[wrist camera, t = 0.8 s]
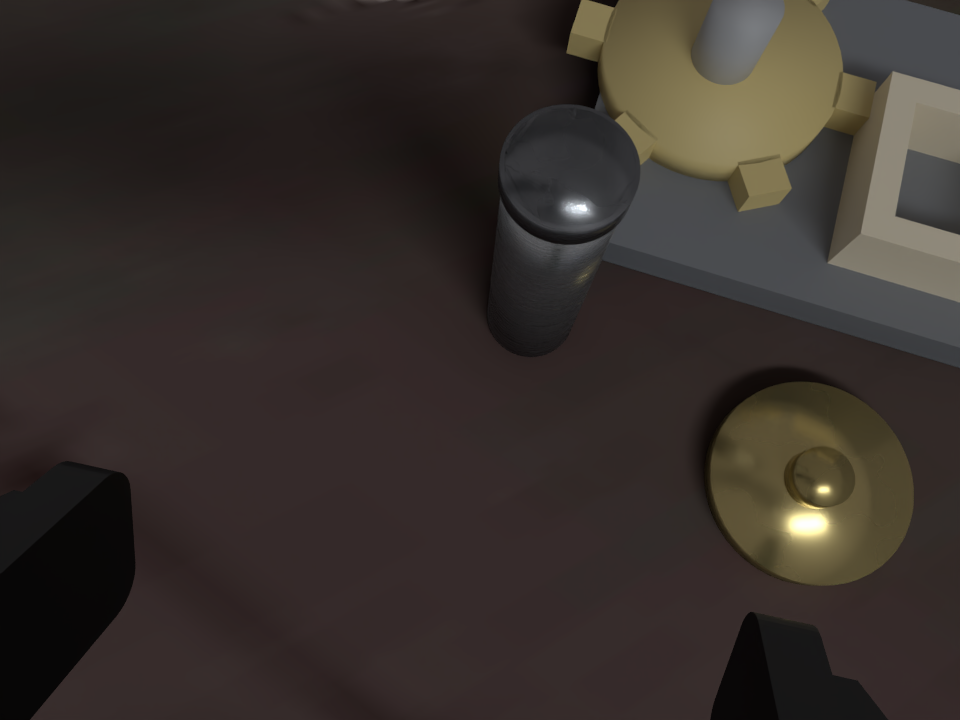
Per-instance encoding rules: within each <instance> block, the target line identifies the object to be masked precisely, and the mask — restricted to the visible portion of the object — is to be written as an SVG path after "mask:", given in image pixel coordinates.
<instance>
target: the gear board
mask: <svg viewBox="0 0 960 720" xmlns="http://www.w3.org/2000/svg"><path fill="white" fill-rule="evenodd" d="M567 53H568V54H571V55H575V56H578V57H582V58H585V59H589V60H592V61H596V62H598V70H597V71H598V84H599V89H600V94H599V97H598V100H597V103H596V106H595V110H598V111H600V112H602V113H604V114H606V115H607V116H609V117H610V118H612V119H613V120H615V121H616V122H617V123H618V124H620V125H621V127H622V128H623V129H624V130H625V131H626V132H627V133H628V135H629V136H630V137H631V139H632V141H633V143H634V145H635V147H636V149H637V152H638V155H639V160H640V168H641V172H640V181H639V186H638V189H637V191H636V194H635V196H634V198H633V201H632V203H631V205H630V207H629V209H628V211H627V213H626V215H625V217H624V218H623V219H622V221H621V222H620V223H619V224H618V225H617V227H616V229H615V231H614V233H613V236H612V238H611V240H610V242H609V245H608V247H607V249H606V251H605V254H604V256H603V258H602V260H604V261H607V262H610V263H614V264H617V265H620V266H624V267H627V268H630V269H634V270H637V271H640V272H644V273H647V274H650V275H654V276H657V277H660V278H663V279H667V280H670V281H673V282H677V283H680V284H683V285H687V286H690V287H693V288H697V289H700V290H703V291H707V292H710V293H713V294H717V295H720V296H723V297H726V298H730V299H733V300H736V301H740V302H743V303H746V304H750V305H753V306H756V307H760V308H763V309H766V310H770V311H773V312H776V313H780V314H783V315H786V316H789V317H793V318H796V319H799V320H803V321H806V322H809V323H813V324H816V325H819V326H823V327H826V328H829V329H833V330H836V331H839V332H842V333H846V334H849V335H852V336H856V337H859V338H862V339H866V340H869V341H872V342H876V343H879V344H882V345H886V346H889V347H892V348H896V349H899V350H902V351H905V352H909V353H912V354H915V355H919V356H922V357H925V358H929V359H932V360H935V361H939V362H942V363H945V364H949V365H952V366H955V367H959V368H960V15H957V14H953V13H949V12H946V11H942V10H939V9H935V8H931V7H928V6H924V5H921V4H917V3H913V2H910V1H906V0H619V1H618V3H617V5H616V6H615V8H614V7H610V6H606V5H603V4H599V3H596V2H592V1H589V0H581V3H580V6H579V9H578V12H577V15H576V18H575V21H574V24H573V27H572V30H571V33H570V38H569V43H568V48H567Z"/></svg>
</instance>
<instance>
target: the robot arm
mask: <svg viewBox="0 0 960 720" xmlns="http://www.w3.org/2000/svg"><path fill="white" fill-rule="evenodd" d="M134 575H135V551H134V535H133V520H132V505H131V490H130V484H129V480H128V478H127V477H126V476H125V475H124V474H123V473H121V472H116V471H111V470H107V469H102V468H98V467H93V466H89V465H84V464H79V463H75V462H69V461H65V462H61V463H59V464H57V465H56V466H54V467H53V468H52V469H51V470H49V471H48V472H47V473H46V474H44V475H43V476H42V477H41V478H39V479H38V480H37V481H36V482H34V483H33V484H32V485H31V486H30V487H28V488H27V489H26V490H25V491H23V492H19V491H15V490H13V491H11V492H9V493H7V494H4V495H2V496H0V720H30V719H31V718H32V717H33V715H34V714H35V713H36V712H37V711H38V709H39V708H40V707H41V706H42V705H43V703H44V702H45V701H46V700H47V699H48V697H49V696H50V695H51V694H52V693H53V691H54V690H55V689H56V688H57V687H58V685H59V684H60V683H61V682H62V681H63V679H64V678H65V677H66V676H67V675H68V673H69V672H70V671H71V670H72V669H73V667H74V666H75V665H76V664H77V663H78V661H79V660H80V659H81V658H82V657H83V656H84V654H85V653H86V652H87V651H88V650H89V648H90V647H91V646H92V645H93V644H94V642H95V641H96V640H97V639H98V638H99V636H100V635H101V634H102V633H103V632H104V630H105V629H106V628H107V627H108V626H109V624H110V623H111V622H112V621H113V620H114V618H115V617H116V616H117V615H118V613H119V612H120V611H121V609H122V607H123V606H124V604H125V602H126V600H127V598H128V596H129V593H130V590H131V588H132V584H133V580H134ZM710 720H888V719H887V718H886V717H885V715H884V714H883V713H882V711H881V710H880V709H879V708H878V706H877V705H876V704H875V702H874V701H873V700H872V699H871V697H870V696H869V695H868V693H867V692H866V691H865V690H864V688H863V687H862V686H861V685H860V683H859V682H858V681H857V680H852V679H848V678H843V677H839V676H834V675H832V672H831V669H830V665H829V662H828V659H827V655H826V652H825V649H824V645H823V642H822V639H821V636H820V633H819V631H818V629H817V628H816V627H815V626H813V625H810V624H805V623H800V622H796V621H791V620H787V619H782V618H778V617H773V616H768V615H764V614H759V613H755V612H750V613H748V614H747V616H746V617H745V619H744V621H743V623H742V625H741V628H740V631H739V634H738V636H737V639H736V642H735V645H734V648H733V650H732V653H731V656H730V659H729V662H728V664H727V667H726V670H725V673H724V676H723V678H722V681H721V684H720V687H719V690H718V692H717V695H716V698H715V701H714V705H713V709H712V713H711V719H710Z"/></svg>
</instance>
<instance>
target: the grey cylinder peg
mask: <svg viewBox="0 0 960 720" xmlns="http://www.w3.org/2000/svg"><path fill="white" fill-rule="evenodd" d="M640 172H641V168H640V160H639V155H638V152H637V149H636V147H635V145H634V143H633V141H632V139H631V137H630V136H629V135H628V133H627V132H626V131H625V130H624V129H623V128H622V127H621V125H620V124H618V123H617V122H616V121H615V120H613V119H612V118H610V117H609V116H607V115H606V114H604V113H602V112H600V111H598V110H595V109H592V108H589V107H585V106H581V105H572V104H561V105H553V106H549V107H545V108H542V109H539V110H537V111H535V112H533V113H531V114H529V115H528V116H526V117H525V118H523V119H522V120H521V121H520V122H519V123H517V124H516V125H515V127H514V128H513V129H512V130H511V131H510V133H509V135H508V136H507V138H506V140H505V142H504V144H503V147H502V151H501V155H500V164H499V174H498V188H499V194H500V202H499V211H498V220H497V229H496V238H495V247H494V256H493V265H492V274H491V283H490V292H489V301H488V310H487V321H488V325H489V329H490V331H491V333H492V335H493V337H494V338H495V340H496V341H497V342H498V343H499V344H500V345H501V346H502V347H503V348H505V349H506V350H508V351H510V352H512V353H514V354H517V355H520V356H525V357H537V356H542V355H546V354H548V353H550V352H552V351H554V350H556V349H557V348H558V347H559V346H560V345H561V344H562V343H563V342H564V341H565V340H566V338H567V337H568V335H569V333H570V331H571V328H572V326H573V324H574V322H575V319H576V317H577V315H578V313H579V310H580V308H581V306H582V303H583V301H584V299H585V297H586V294H587V292H588V290H589V288H590V285H591V283H592V281H593V279H594V276H595V274H596V272H597V270H598V267H599V265H600V263H601V261H602V258H603V256H604V254H605V251H606V249H607V247H608V245H609V242H610V240H611V238H612V236H613V233H614V231H615V229H616V227H617V225H618V224H619V223H620V222H621V221H622V219H623V218H624V217H625V215H626V213H627V211H628V209H629V207H630V205H631V203H632V201H633V198H634V196H635V194H636V191H637V189H638V186H639V181H640Z"/></svg>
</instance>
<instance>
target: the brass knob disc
mask: <svg viewBox="0 0 960 720" xmlns="http://www.w3.org/2000/svg"><path fill="white" fill-rule="evenodd" d="M704 481H705V491H706V496H707V500H708V505H709V507H710V510H711V513H712V516H713V518H714V520H715V522H716V524H717V526H718V528H719V530H720V531H721V533H722V534H723V536H724V537H725V539H726V540H727V541H728V543H729V544H730V545H731V546H732V547H733V548H734V550H735V551H736V552H737V553H738V554H739V555H740V556H742V557H743V558H744V559H745V560H746V561H747V562H749V563H750V564H751V565H753V566H754V567H756V568H757V569H759V570H760V571H762V572H764V573H766V574H768V575H770V576H772V577H775V578H777V579H780V580H782V581H786V582H790V583H794V584H801V585H837V584H843V583H848V582H851V581H854V580H857V579H860V578H862V577H864V576H866V575H868V574H870V573H872V572H873V571H875V570H876V569H878V568H879V567H881V566H882V565H883V564H884V563H885V562H886V561H887V560H888V559H889V558H890V557H891V556H892V555H893V554H894V552H895V551H896V550H897V549H898V547H899V546H900V544H901V542H902V540H903V539H904V537H905V535H906V532H907V530H908V527H909V524H910V520H911V516H912V512H913V502H914V489H913V480H912V474H911V470H910V466H909V463H908V460H907V457H906V455H905V452H904V450H903V448H902V446H901V444H900V442H899V440H898V439H897V437H896V435H895V434H894V432H893V431H892V430H891V428H890V427H889V426H888V424H887V423H886V422H885V421H884V420H883V419H882V418H881V417H880V416H879V415H878V413H876V412H875V411H874V410H873V409H872V408H871V407H869V406H868V405H867V404H866V403H864V402H863V401H861V400H860V399H858V398H857V397H855V396H853V395H851V394H849V393H847V392H845V391H843V390H840V389H838V388H835V387H832V386H828V385H824V384H820V383H813V382H789V383H782V384H778V385H774V386H771V387H768V388H766V389H763V390H761V391H759V392H757V393H755V394H754V395H752V396H750V397H749V398H747V399H746V400H744V401H743V402H741V403H740V404H738V405H737V406H736V407H735V408H734V409H732V410H731V411H730V412H729V413H728V414H727V416H726V417H725V418H724V419H723V420H722V421H721V423H720V424H719V426H718V427H717V429H716V431H715V433H714V435H713V437H712V439H711V441H710V444H709V447H708V451H707V454H706V460H705V470H704Z"/></svg>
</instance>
